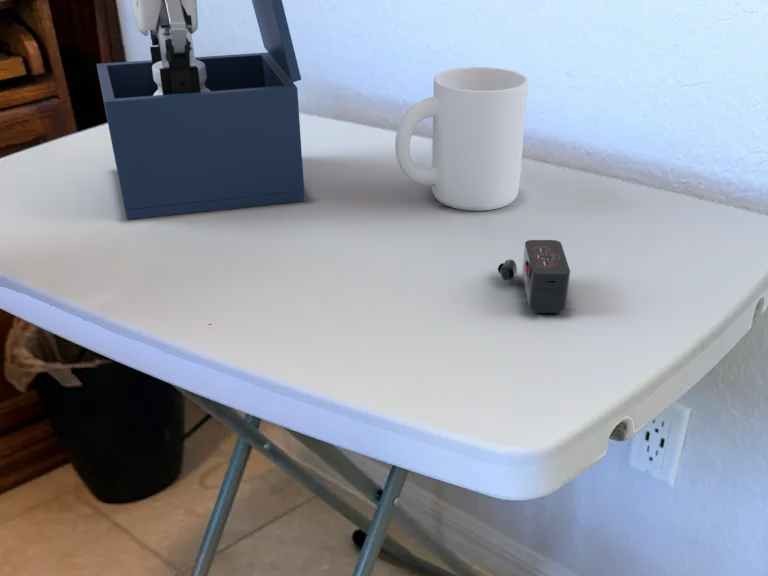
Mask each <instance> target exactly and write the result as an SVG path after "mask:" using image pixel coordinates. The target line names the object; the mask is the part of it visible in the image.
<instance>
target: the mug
mask: <svg viewBox="0 0 768 576" xmlns="http://www.w3.org/2000/svg"><path fill="white" fill-rule="evenodd" d="M528 87H529V80H528V77H527V76H526V75H524V74H522V73H520V72H517V71H514V70H510V69H506V68H500V67H488V66H466V67H458V68H452V69H451V68H450V69H446V70H444V71H443V70H442V71H441V72H438V73H436V74H435V75H434V77H433V96H430V97H427V98H424V99H422V100H419V101H418V102H416V103H414V104H413V105H412V106H411V107H410V108H408V110H407V111H406V112H405V113H404V115H403V116H402V118H401V120H400V122H399V124H398V126H397V130H396V133H395V143H394V149H395V155H396V162H397V164H398V166H399V169H400V170H401V172H402V174H403V175H405V177H406V178H408V179H409V180H410V181H412V182H414V183H416V184H419V185H426V186H427V185H428V186H429V185H431V190H432V191H431V192H432V194H433V196H434V198H435V199H436V200H437V201H438V202H439V203H441V204H442V205H444V206H447V207H450V208H453V209H457V210H462V211H475V212H476V211H477V212H480V211H492V210H498V209H500V208H501V209H502V208H504V207H506V206H508V205H510V204H512V202H514V201H515V200H516V198H517V196H518V194H519V189H520V184H521V173H522V161H523V148H524V134H525V123H526V112H527V111H526V110H527V98H528ZM428 118H432V137H431V138H432V141H431V142H432V143H431V144H432V145H431V167H426V168H425V167H420V166H418V165H417V164H416V163H415V162H414V160H413V159H412V155H411V154H412V153H411V139H412V135H413V133H414V131H415V128H416V127H417V126H418V124H419V123H420V122H422V121H423V120H425V119H428Z"/></svg>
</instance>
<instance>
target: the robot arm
mask: <svg viewBox="0 0 768 576" xmlns="http://www.w3.org/2000/svg"><path fill="white" fill-rule="evenodd" d="M130 3H131V5H130V6H131V13H132V17H133V20H134V23H135V25H136V28H137V30H138V32H140V33H141V34H142V35H143V36H144V37H149V34H150V42H151V46H149V51H150V57H151V60H152V65H154V64H155V63H157V62H159V61H162V67H163V68H161V69H159V70H160V77H161V84H162V92H163V95H169V94H182V93H195V92H201V90H200V81H199V72H198V67H196V61H195V57H196V56H195V49H194V43H193V38H192V35H193V34H194V33H195V32H196V31H197V30H198V29H199V19H198V3H197V0H130ZM155 87H156V91H157V90H158V85H157V84H156V82H155Z"/></svg>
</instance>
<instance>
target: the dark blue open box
mask: <svg viewBox="0 0 768 576" xmlns="http://www.w3.org/2000/svg"><path fill="white" fill-rule="evenodd" d="M195 60H199V61H201V62H203V63H204V64H205V68H206V75H207V79H206V81H205V82H204V83H205V87H206V88H208V89H209V90H210V91H208V92H195V93H182V94H169V95H156V96H153V95H154V93H155V92H156V87H155V81H154V78H153V71H152V66H153V65H152V59H150V60H149V59H148V60H135V61H133V60H132V61H121V62H106V63H105V62H103V63H96V69H97V74H98V80H99V84H100V85H99V86H100V90H101V94H102V95H101V96H102V101H103V106H104V110H105V115H106V120H107V127H108V131H109V136H110V141H111V147H112V152H113V158H114V162H115V167H116V172H117V173H116V174H117V178H118V183H119V188H120V192H121V197H122V203H123V207H124V212H125V217H126V220H128V221H129V220H137V219H146V218H156V217H167V216H175V215H183V214H184V215H186V214H194V213H195V214H196V213H203V212H204V213H205V212H213V211H223V210H231V209H232V210H233V209H241V208H251V207H261V206H269V205H271V206H272V205H279V204H280V205H281V204H289V203H298V202H305V198H306V197H305V184H304V168H303V166H304V165H303V153H302V138H301V123H300V122H301V121H300V107H299V93H298V86H297V85H296V84H295V82H292V81H291V80H290V79H289V77H288V76H287V75H286V74H285V72H284V71H283V70H282V69H281V68H280V66H279V65H278V64H277V63H276V61H275V60H274V59H273V58H272V56H271V55H270V54H269V53H268V51H267V52H255V53H254V52H253V53H238V54H237V53H236V54H224V55H223V54H222V55H209V56H208V55H207V56H195Z"/></svg>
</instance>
